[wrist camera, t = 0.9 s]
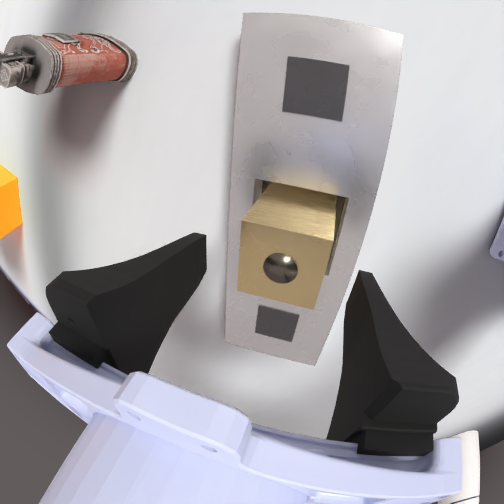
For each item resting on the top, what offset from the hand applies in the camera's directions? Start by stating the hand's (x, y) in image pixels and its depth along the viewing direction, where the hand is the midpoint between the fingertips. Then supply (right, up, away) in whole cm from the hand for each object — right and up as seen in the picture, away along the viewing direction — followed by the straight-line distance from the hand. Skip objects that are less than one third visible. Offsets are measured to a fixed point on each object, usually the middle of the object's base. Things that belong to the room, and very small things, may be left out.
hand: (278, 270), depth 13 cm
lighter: (-12, +16, +2) cm, 20 cm away
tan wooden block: (+2, +3, +5) cm, 6 cm away
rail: (+2, +3, +5) cm, 6 cm away
